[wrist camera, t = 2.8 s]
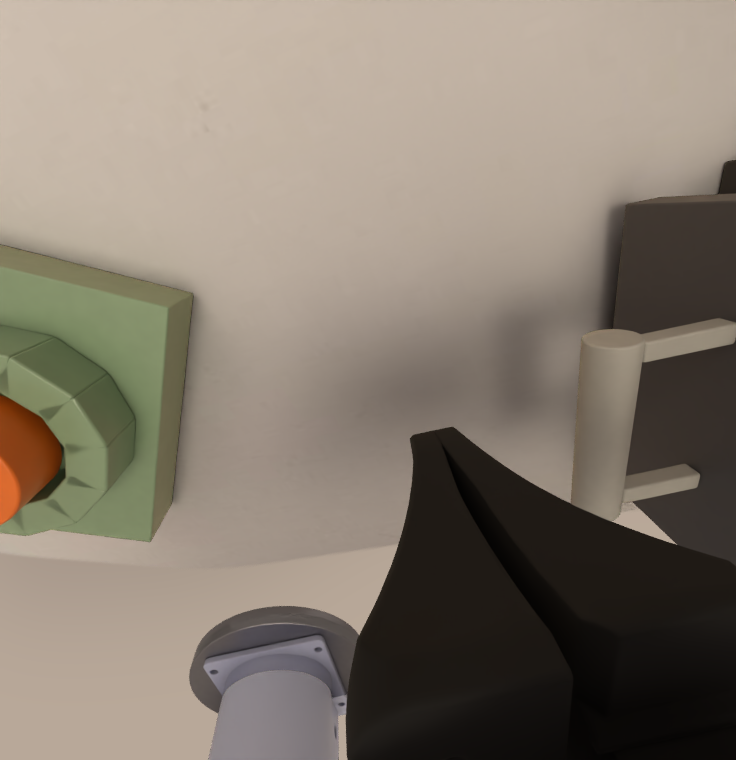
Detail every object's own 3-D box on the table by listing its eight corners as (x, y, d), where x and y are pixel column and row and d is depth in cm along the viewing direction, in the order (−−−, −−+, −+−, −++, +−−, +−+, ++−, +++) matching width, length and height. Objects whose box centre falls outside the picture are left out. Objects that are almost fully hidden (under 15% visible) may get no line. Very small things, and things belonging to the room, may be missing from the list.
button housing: (171, 503, 17) (128, 583, 13) (-31, 474, 15) (-144, 555, 12) (193, 293, 13) (141, 323, 9) (-72, 226, 12) (-256, 231, 8)
